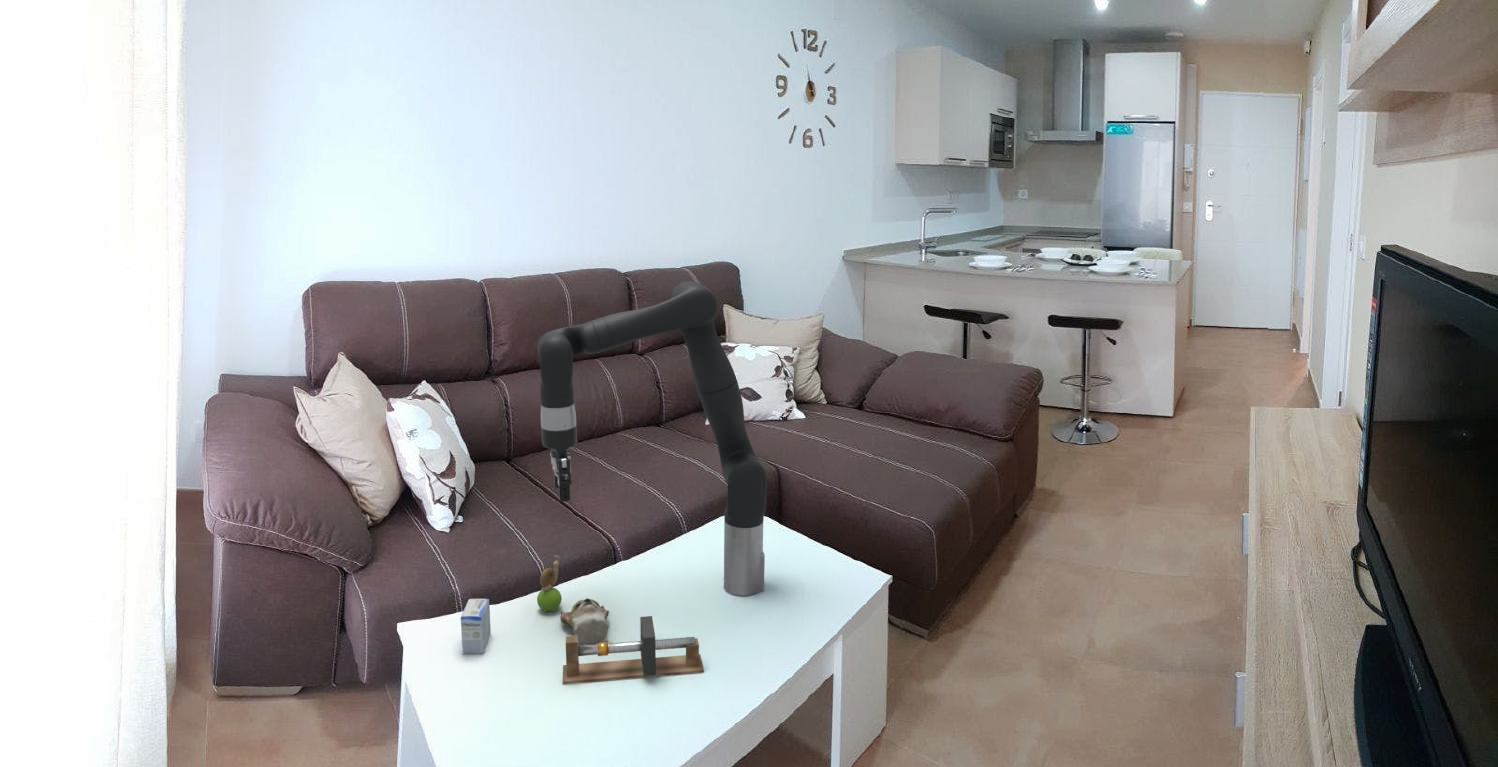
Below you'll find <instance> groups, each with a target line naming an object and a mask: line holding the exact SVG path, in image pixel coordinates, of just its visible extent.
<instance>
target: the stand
mask: <svg viewBox="0 0 1498 767" xmlns="http://www.w3.org/2000/svg"><path fill="white" fill-rule="evenodd" d="M578 646H579V642H578V635H577V636H575V635H567V636H566V635H565V660H566V661H565V662H566V663H565V664H563V665H562V685H571V684H583V683H584V684H585V683H593V682H595V683H596V682H605V681H607V682H608V681H618V680H620V681H621V680H630V679H641V678H652V677H665V676H666V677H667V676H679V675H688V674H689V675H690V674H702V673H705V668H704V664H703V660H702V656H701V654H700V644H699V639H698V637H695V644H694V645H687V648H685V655H684V654H683V655H672V656H660V657H659V656H658V657H657V656H656V675H649V676H644V675H643V667H642V659H641V658H634V659H622V660H621V659H620V660H610V661H609V660H608V661H597V662H595V661H594V662H586V663H580V660H579V657H580V656H578Z"/></svg>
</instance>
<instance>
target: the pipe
mask: <svg viewBox="0 0 1498 767" xmlns="http://www.w3.org/2000/svg"><path fill="white" fill-rule="evenodd" d="M695 638H696V637H695V636H686V637H685V636H684V637H674V638H661V639H660V638H659V639H655V650H656V651H660V650H661V651H662V650H673V649H686V648H687V645H694V644H695ZM641 651H643V649H642V641H641V640H636V641H635V640H634V641H623V642H622V641H621V642H611V643H610V642H608V641H602V642H600V643H597V644H594V645H583V644H581V645H578V656H579V657H584V656H585V657H587V656H597V657H604V656H609V654H610V655H611V654H612V655H613V654H622V653H623V654H624V653H625V654H626V653H633V652H634V653H636V652H641Z"/></svg>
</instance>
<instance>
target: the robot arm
mask: <svg viewBox="0 0 1498 767" xmlns="http://www.w3.org/2000/svg"><path fill="white" fill-rule="evenodd" d="M717 312H718V300H717V298H716V295H715V293H713V291H711V290H710V289H709V288H707V287H706V286H705V285H703V284H701V283H699V282H697V281H693V280H692V281H691V280H688V281H687V280H686V281H683V282H680V283H679V284H678V285H677V286H675V288H674V289H673V291H672V294H671V296H670V298H669V299H668V300H665V301H663V302H660V303H657V304H655V305H652V306H651V305H650V306H648V307H644V308H639V309H633V310H627V311H621V312H617V313H612V314H608V315H605V316H602V317H599V318H596V319H593V320H589V321H587V322H585V323H581V324H577V325H571V326H565V327H561V328H560V327H559V328H556V329H552V330H550V331H548V332H546V333H544V334H543V335H541V336H540V338H539V339H538V341H537V346H536V349H537V354H538V361H539V370H540V378H541V380H540V381H541V382H540V385H539V386H540V387H539V391H540V395H539V396H540V431H541V444H542V446H543V448H546V449H548V450H551V451H550V459H551V460H550V463H551V466H552V471H553V474H554V487H555V488H556V489H558V491H559V492H558V494H559V495H558V498H559V501H560V502H561V503H562V502H569V501H571V490H570V489H571V488H570V486H572V475H571V473H572V468H571V460H572V457H571V453H570V451H569V450H570V449H569V448H572V447H575V446H576V445H577V443H578V433H577V430H578V429H577V427H578V426H577V413H576V409H575V408H576V407H575V406H576V405H575V397H574V393H575V392H574V383H573V371H574V361H573V360H574V357H577V356H579V355H585V354H588V355H595V354H599V353H602V352H605V351H608V350H612V349H614V348H618V347H621V346H624V345H626V344H630V343H633V342H635V341H638V340H642V339H646V338H648V337H651V336H655V335H659V334H660V335H661V334H663V333H664V334H665V333H668V332H672V331H678V330H680V331H681V334H682V336H683V338H684V341H685V344H686V347H687V352H688V357H689V361H690V365H691V371H692V374H693V378H694V382H695V386H696V390H697V393H698V397H699V400H700V403H701V406H702V408H703V411H704V413H705V417H706V420H707V422H708V424H709V425H710V426H709V427H710V428H711V431H712V433H713V434H714V438H715V440H716V444H717V450H718V453H719V459H720V465H721V471H722V476H723V479H724V482H725V483H726V485H727V499H726V500H727V502H726V507H725V509H724V519H723V520H724V521H723V522H724V523H723V525H724V528H723V530H724V531H723V532H724V533H723V534H724V535H723V536H724V537H723V538H724V540H723V548H724V549H723V589H724V590H725V591H726V592H727V593H729V594H731V595H734V596H739V597H740V596H741V597H743V596H744V597H745V596H752V595H755V594H757V593H761V592H765V561H766V555H765V552H764V519H765V518H764V517H765V516H764V515H765V513H766V510H767V498H768V496H767V495H768V494H767V493H768V475H767V471H766V469H765V468H764V466H763V464H762V463H761V461H760V459H759V458H758V457H757V455H756V453H755V451H754V449H753V447H752V444H751V442H750V439H749V438H750V437H749V435H748V433H747V429H746V424H745V412H744V410H745V409H744V402H743V397H742V393H741V390H740V386H739V383H738V382H739V381H738V379H737V377H736V374H735V371H734V368H733V366H732V364H731V361H730V359H729V357H728V356H727V352H726V351H725V348H723V345H722V343H721V341H720V339H719V337H718V334H717V331H716V327H715V322H714V318H715V317H716V314H717ZM568 449H569V450H568ZM565 476H566V478H565Z"/></svg>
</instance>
